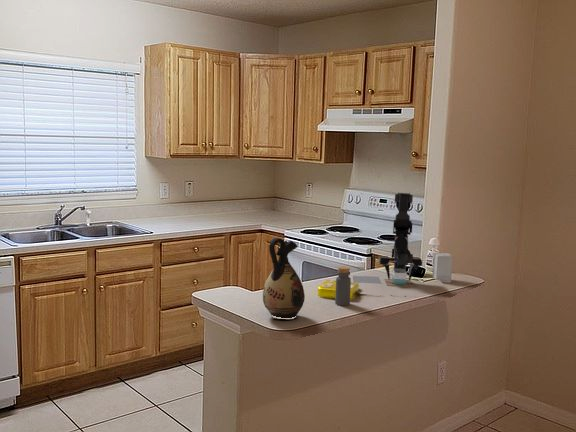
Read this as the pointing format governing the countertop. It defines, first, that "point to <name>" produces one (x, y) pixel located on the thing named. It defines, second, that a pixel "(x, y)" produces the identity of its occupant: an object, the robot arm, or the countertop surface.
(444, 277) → the supplement box
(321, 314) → the countertop surface
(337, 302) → the bottle
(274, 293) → the ceramic jug
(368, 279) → the slate stand
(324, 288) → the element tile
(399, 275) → the block
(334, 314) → the countertop surface
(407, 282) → the walnut stand
